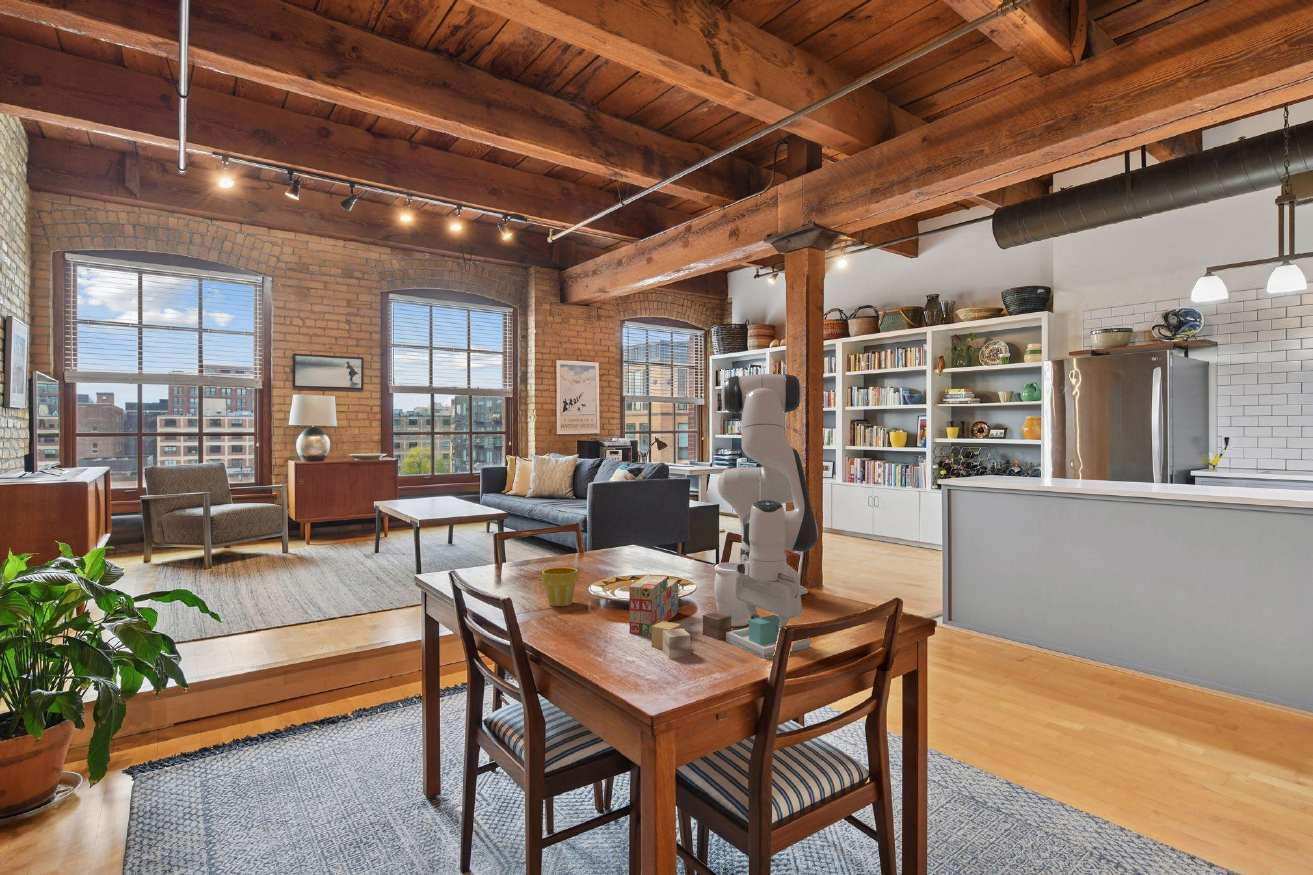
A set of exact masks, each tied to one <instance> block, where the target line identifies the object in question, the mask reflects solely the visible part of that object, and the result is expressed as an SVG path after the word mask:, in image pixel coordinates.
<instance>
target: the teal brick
mask: <svg viewBox="0 0 1313 875" xmlns="http://www.w3.org/2000/svg"><path fill="white" fill-rule="evenodd" d="M779 622H780V619H779V615H777V614H772V615H765V616H761V617H759V618H756V619H751V620H750V619H749V624H748V628H749V640H750V641H752V642H754V643H757V644H759V645H764V644H769V643H773V642H776V641H777V635H778V632H776V625H778V624H779Z"/></svg>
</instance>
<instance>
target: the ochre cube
mask: <svg viewBox="0 0 1313 875" xmlns="http://www.w3.org/2000/svg"><path fill="white" fill-rule="evenodd" d="M681 626H682V625H681V623H676V622H669V621H668V622H666V621H662V622H660V623H657V624H655V625H653V626H652V636H651V648H655V649H660V650H663V630H673V629H682V628H681Z"/></svg>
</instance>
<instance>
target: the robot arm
mask: <svg viewBox="0 0 1313 875" xmlns="http://www.w3.org/2000/svg"><path fill="white" fill-rule="evenodd" d="M720 399H721V402H722V404H723V405H722V406H724V409H725V410H726V411H728V413H731V414H735V415H739V414H741V426H740V427H741V449H742V452H743V453H744V454H745V455H746V456H747V457H748V458H749V459H750V460H753V461H754V462H755V463H758V464H760V465H761V467H753V466H752V467H751V466H748V467H743V466H737V467H733V468H728V469H724V470H723V471H722V472H721V473H720V475H719V477H718V480H717V491H718V494H719V496H720V497H721V498H722V500H724V501H725V502H726V503H728V504H729V505H730V506H731V507H732V509H733V510H734V512H735V513H736V515H737V517H738V519H739V524H740V529H741V530H740V531H741V547H740V553H739V555H740V556H739V559H740V562H736V563H737V564H736V565H735V570H736V572H738V573H737V575H736V580H735V592H736V596H737V599H738V600H740V601H743V602H745V603H747V609H748V612H749V620H751V619H756V618H760V615H759V614H758V613H757V608H760V609H762V610H763V611H767V612H770V613H773V614H774V615H777V616H779V619H780V622H779V624H778V625H776V632H779V628H781V626H787V624H788V622H789V621H790V619H795V618H799V617H800V616H801V614H802V612H803V611H802V610H803V609H802V606H803V605H802V599H801V598H802V595H806V594H808V593H809V591H808V588H806V587H804V586H803V585H801V581H800V580H801V579H800V575H799V573H798V572H797V570H795V569H794V568H793V567H792V566H790V565H789V564H788V563H787V557H788V556H790V551H793V552H803V553H806V552H807V551H809V550H811V549H812V548H813V547H814V546H815V545H816V544H817V542H818V538H819V529H818V524H817V520H816V518H815V515H814V512H813V508H812V504H811V499H810V494H809V489H808V484H807V481H806V480H807V479H806V476H805V472H804V467H803V463H802V459H801V456H800V454H799V452H798V450H797V449H796V448H794V447H792V446H791V445H790V443H789V441H788V440H787V437H786V431H785V429H786V428H785V417H784V413H785V414H786V413H789V412H793V411H796V410H797V409H798V408H799V407H800V404H801V402H802V400H803V388H802V385H801V383H800V380H799V378H798V377H797V376H796V375H793V374H787V373H784V374H778V373H775V374H774V373H761V374H747V375H741V376H739V375H734V376H731V377H727V378H726V380H724V384H723V385H722V388H721V392H720ZM788 503H792V504H793V507H794V509H793V510H789V511H787V510H786V511H785V508H784V506H783V504H788Z"/></svg>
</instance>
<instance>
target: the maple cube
mask: <svg viewBox="0 0 1313 875" xmlns="http://www.w3.org/2000/svg"><path fill="white" fill-rule="evenodd" d="M662 652H663V653H664V654H665V656H666V657H667V659H669V660H670V659H671V660H672V659H678V658H679V659H681V658H690V657H691V634H690V633H689V632H688V631H686V630H685V628H681V629H673V630H663V649H662Z"/></svg>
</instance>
